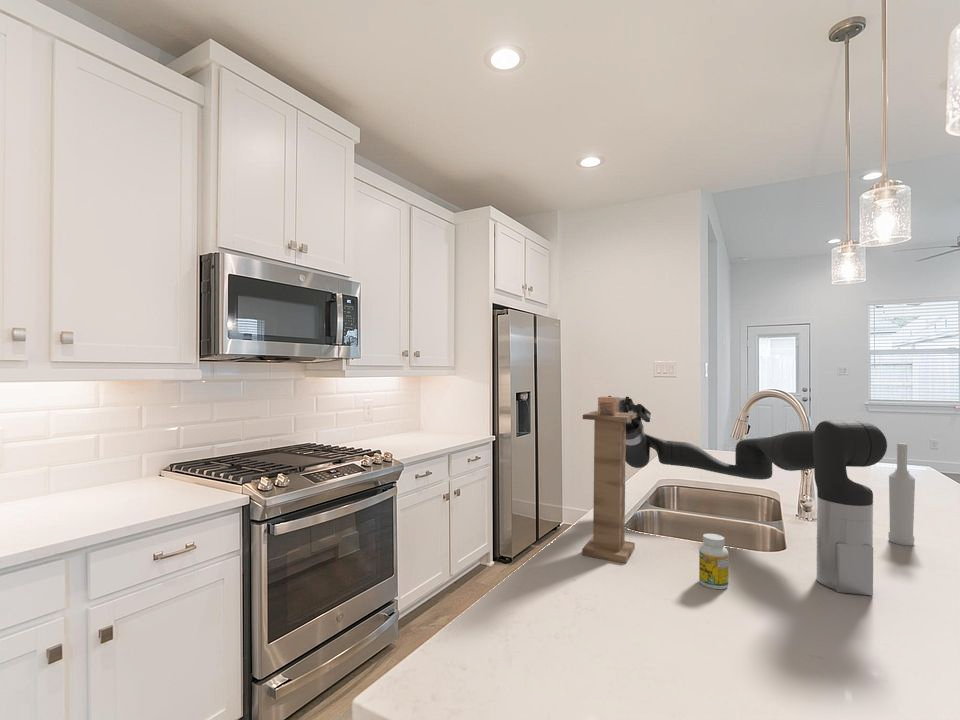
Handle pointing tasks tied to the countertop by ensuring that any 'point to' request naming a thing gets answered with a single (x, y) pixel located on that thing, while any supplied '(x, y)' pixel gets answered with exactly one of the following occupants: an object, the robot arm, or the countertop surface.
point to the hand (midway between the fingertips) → (617, 399)
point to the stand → (609, 488)
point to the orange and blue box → (611, 406)
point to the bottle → (901, 500)
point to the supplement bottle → (713, 562)
